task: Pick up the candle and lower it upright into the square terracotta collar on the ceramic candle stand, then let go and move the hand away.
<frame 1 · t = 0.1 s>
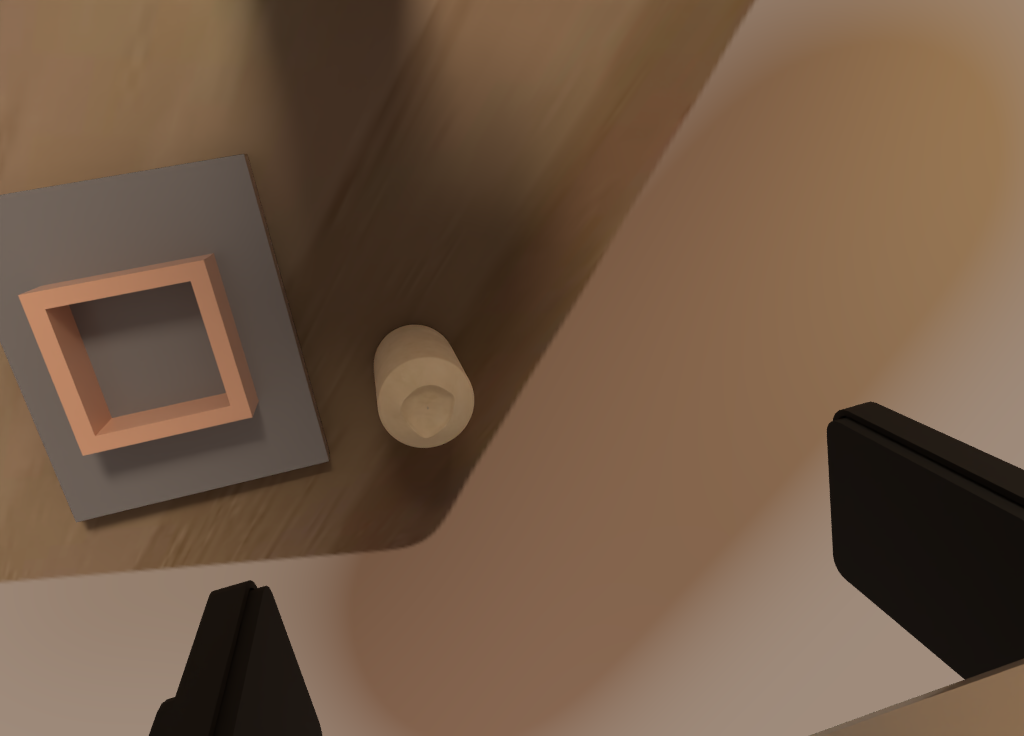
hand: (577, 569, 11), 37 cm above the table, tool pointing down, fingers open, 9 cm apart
candle stand: (162, 340, 43), on the table
candle: (413, 361, 47), on the table
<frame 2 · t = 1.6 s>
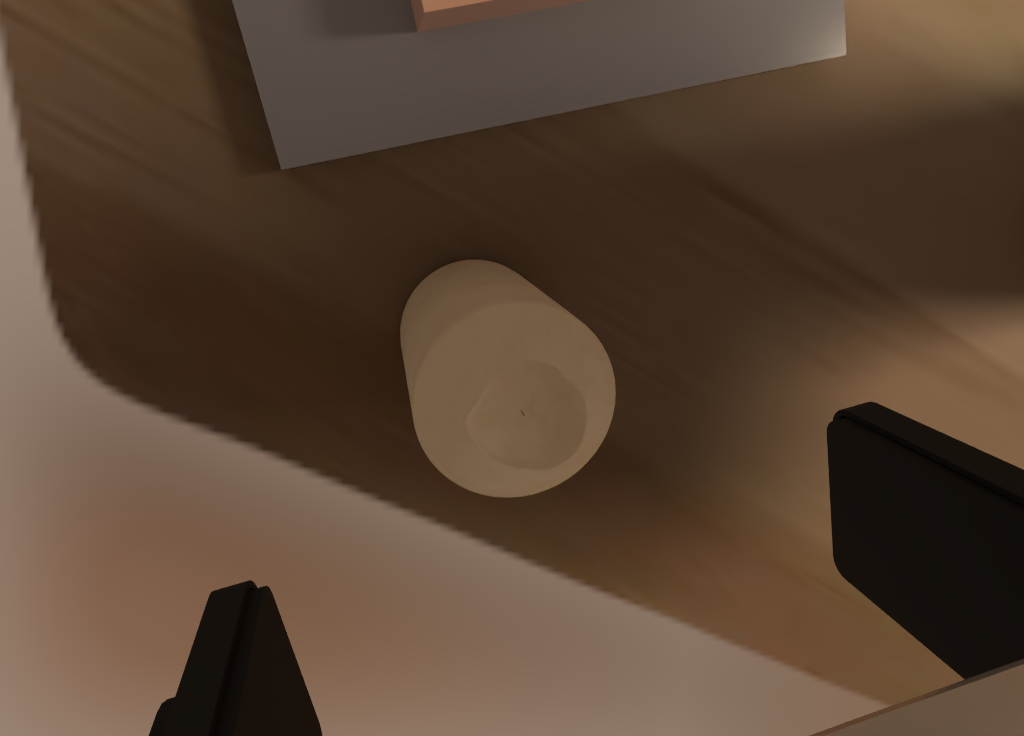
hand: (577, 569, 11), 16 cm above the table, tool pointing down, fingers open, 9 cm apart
candle: (471, 328, 26), on the table
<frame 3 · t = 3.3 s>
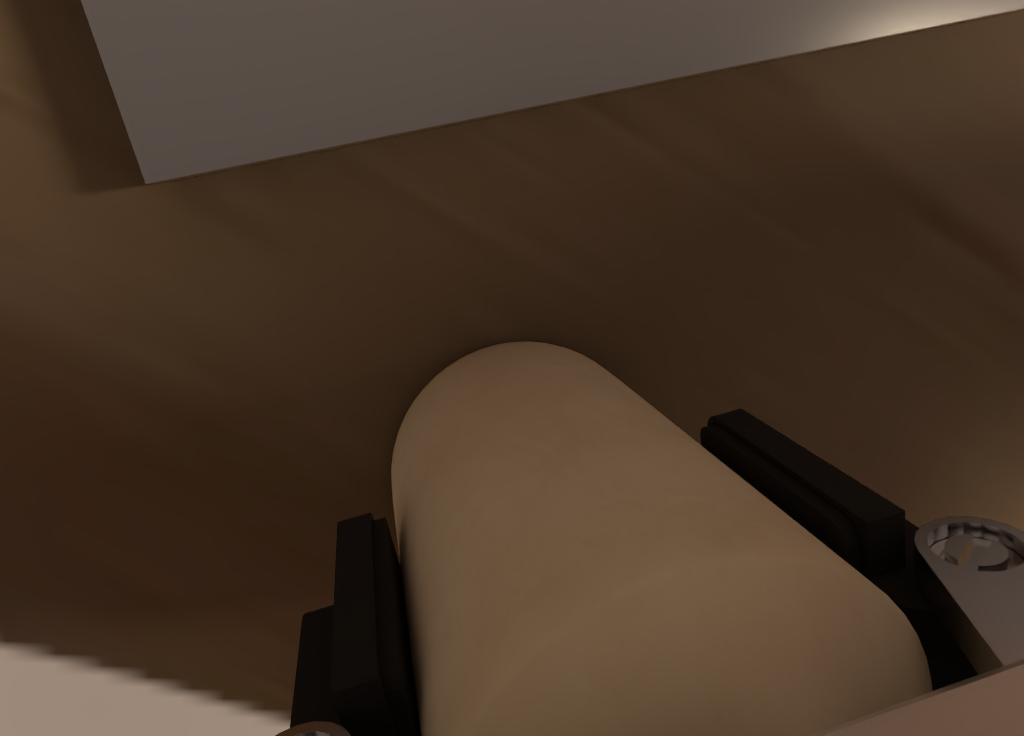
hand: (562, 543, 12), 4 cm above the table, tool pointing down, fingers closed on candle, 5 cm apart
candle: (515, 456, 15), on the table, touching gripper
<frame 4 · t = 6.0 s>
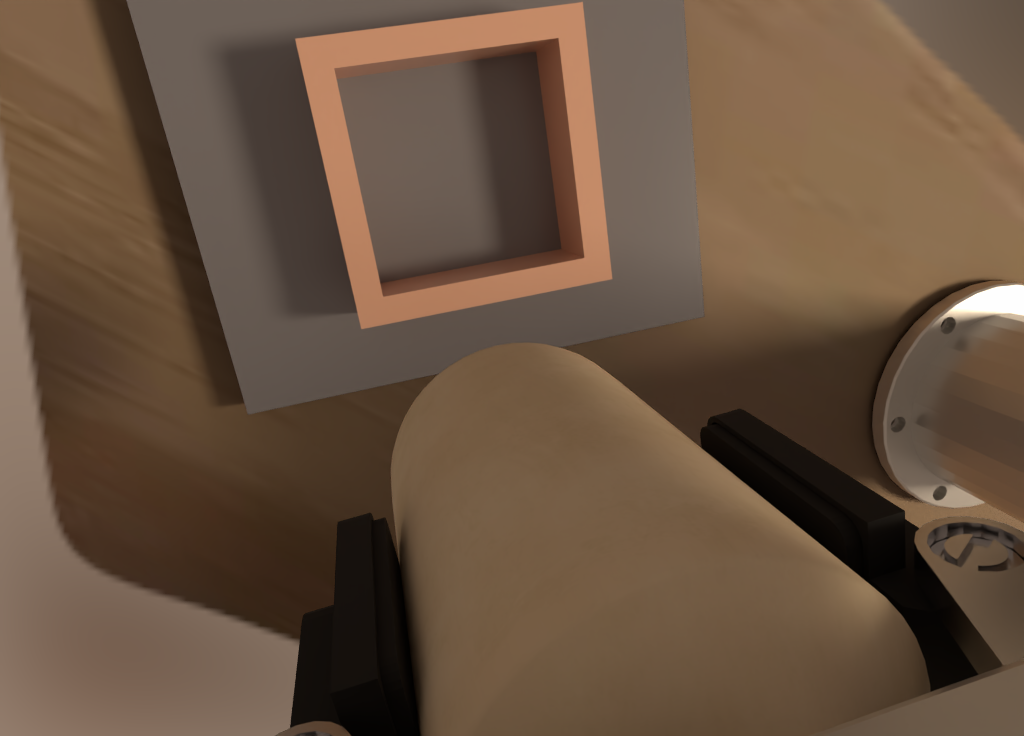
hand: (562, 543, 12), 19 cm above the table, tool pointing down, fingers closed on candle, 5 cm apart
candle stand: (450, 169, 28), on the table
candle: (514, 457, 15), point 16 cm above the table, touching gripper
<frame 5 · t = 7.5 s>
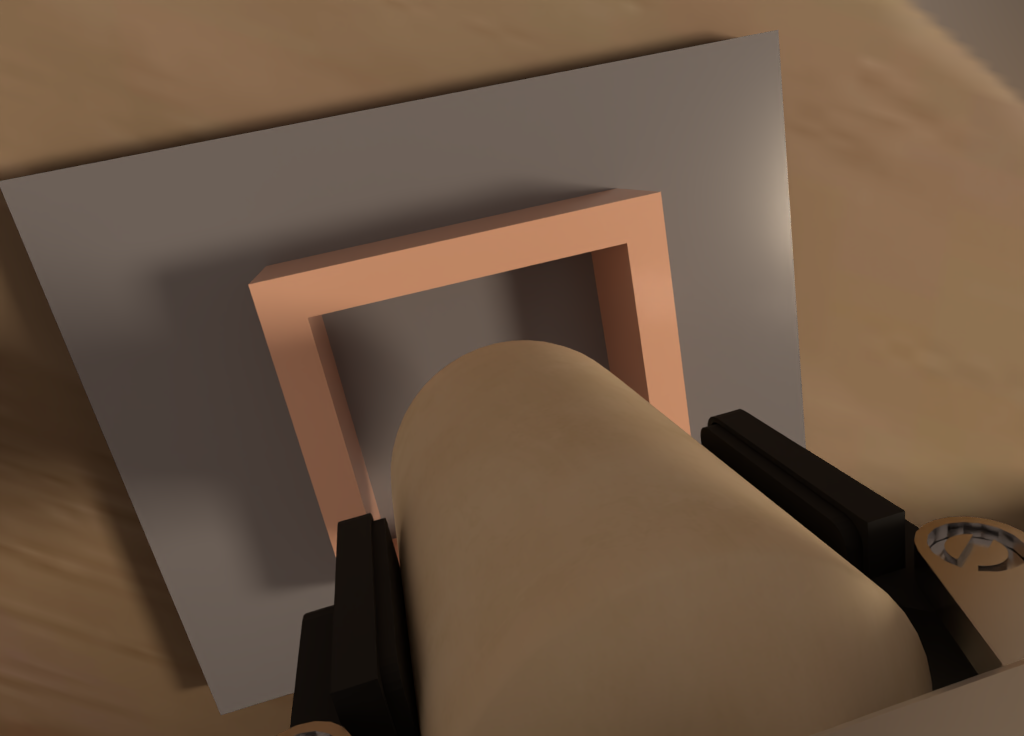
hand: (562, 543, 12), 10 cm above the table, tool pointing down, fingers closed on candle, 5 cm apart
candle stand: (476, 376, 21), on the table
candle: (514, 455, 15), point 6 cm above the table, touching gripper
when the fingers open (6 cm above the table, at t = 8.8 s): candle stays where it is, resting on candle stand.
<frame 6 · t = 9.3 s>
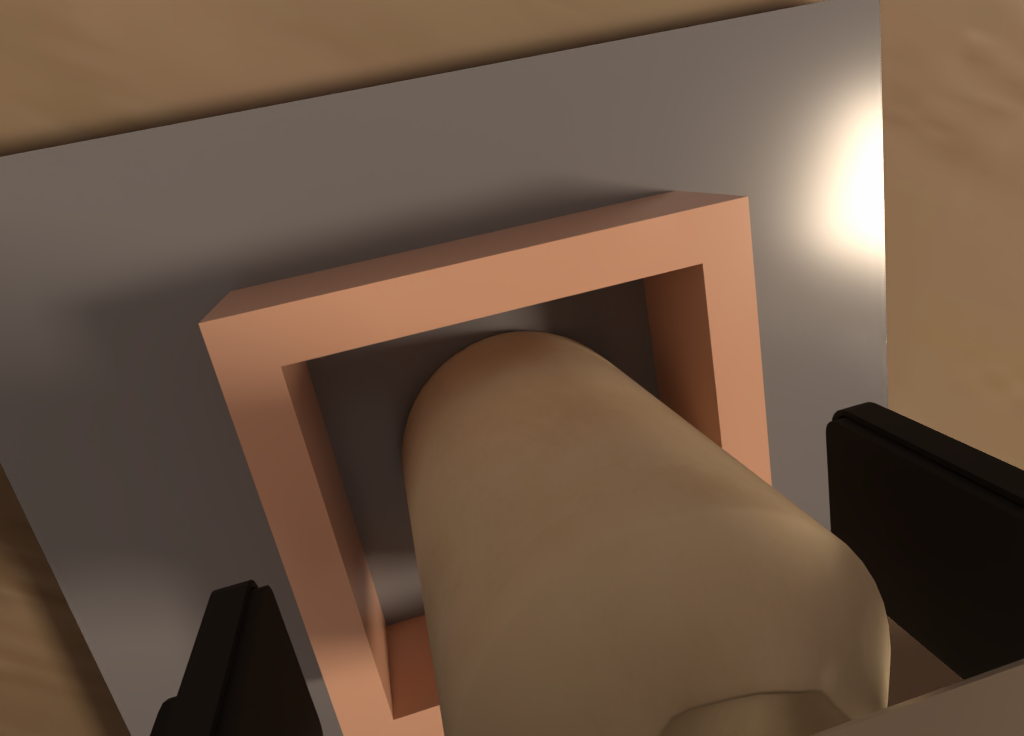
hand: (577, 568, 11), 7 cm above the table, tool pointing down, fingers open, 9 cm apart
candle stand: (495, 421, 17), on the table
candle: (517, 439, 16), point 1 cm above the table, touching candle stand
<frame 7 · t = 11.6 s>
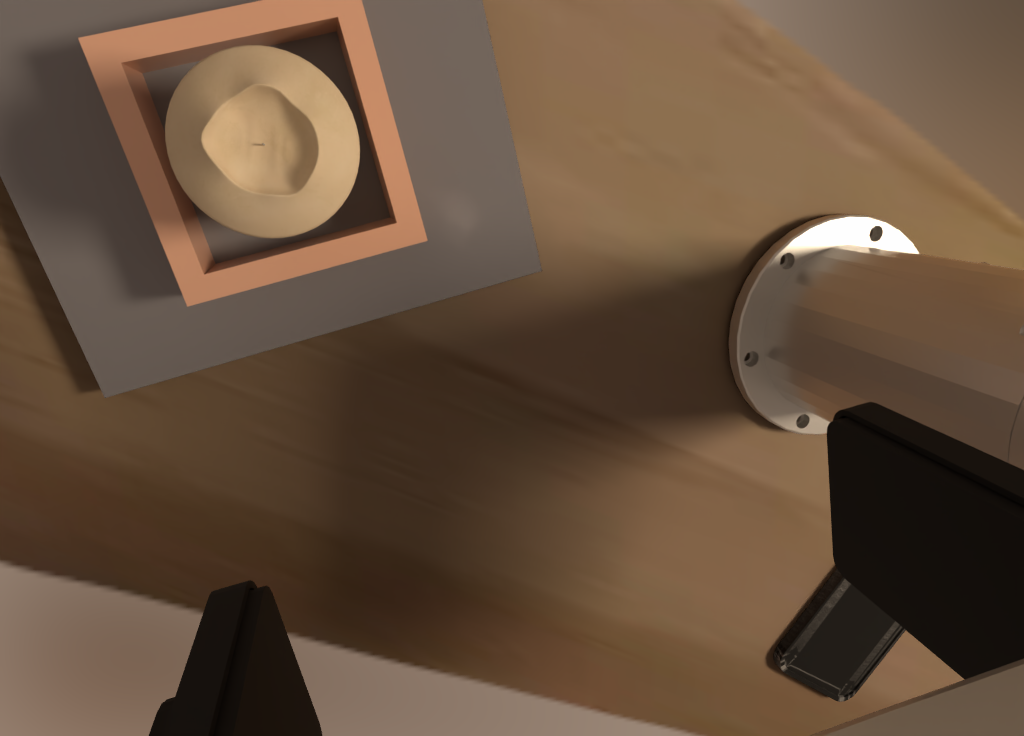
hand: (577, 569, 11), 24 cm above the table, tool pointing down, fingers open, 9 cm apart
phone: (865, 588, 47), on the table
candle stand: (276, 150, 30), on the table
candle: (282, 150, 29), point 1 cm above the table, touching candle stand
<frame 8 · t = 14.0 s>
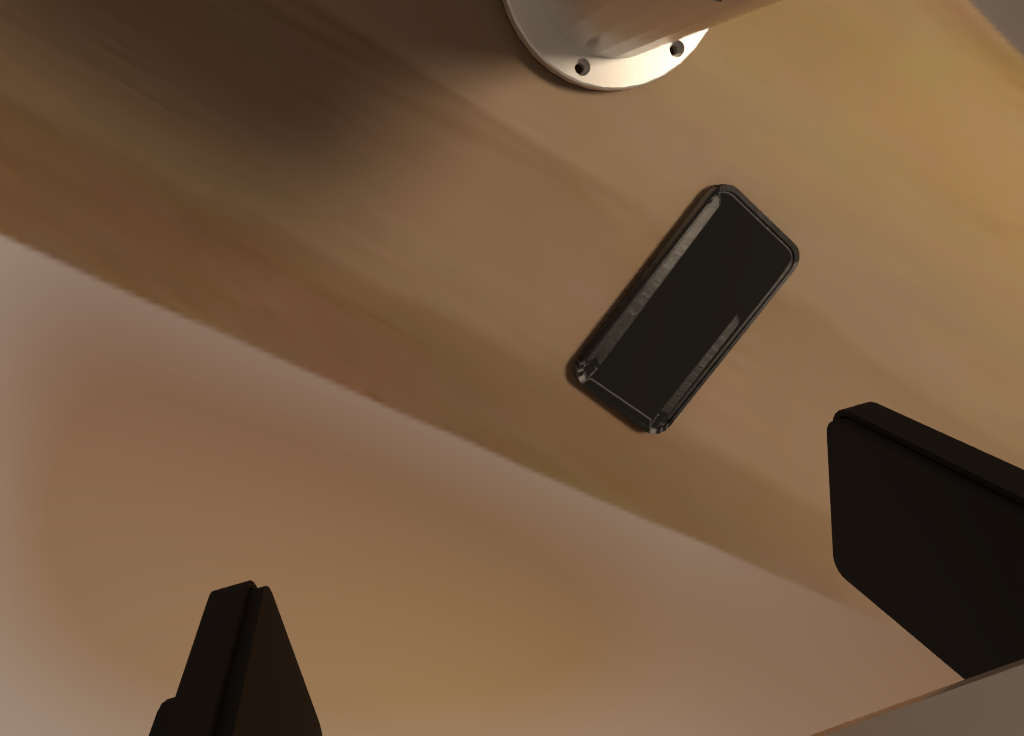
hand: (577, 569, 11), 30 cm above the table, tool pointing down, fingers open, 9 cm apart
phone: (681, 311, 44), on the table
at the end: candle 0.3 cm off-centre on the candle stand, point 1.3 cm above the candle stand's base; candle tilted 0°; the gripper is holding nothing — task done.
